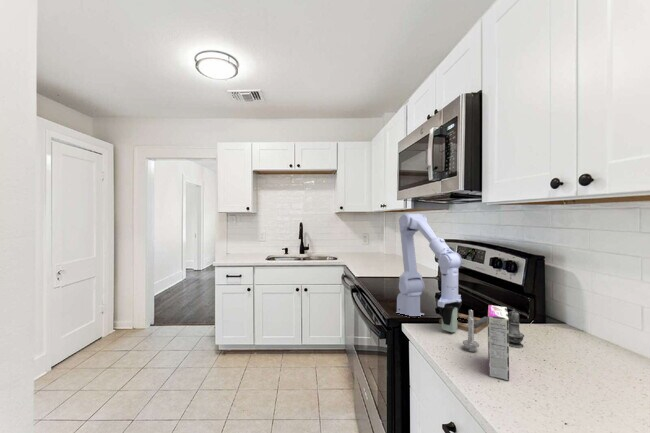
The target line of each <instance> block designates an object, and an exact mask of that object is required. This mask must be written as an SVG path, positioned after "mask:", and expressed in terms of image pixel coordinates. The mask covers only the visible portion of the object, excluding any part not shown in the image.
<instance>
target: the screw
mask: <svg viewBox="0 0 650 433" xmlns="http://www.w3.org/2000/svg"><path fill="white" fill-rule="evenodd" d="M468 315H469V318H468V321H467V325H468V331H467V339H464V340H462V344H463V345H464V346H465V349H466V351H468V352H471V353H472V352H476V349H477V348H479V347H480V343H478V341H476V340H475V333H474V320H473V319H474V318H473V317H474V310H472V309H468Z"/></svg>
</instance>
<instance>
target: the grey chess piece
mask: <svg viewBox="0 0 650 433" xmlns="http://www.w3.org/2000/svg"><path fill="white" fill-rule="evenodd" d="M508 319H509V348H510V347H511V348H515V349H522V348H524V345H523V343H522V342H523V340H524V338H525V334H524V333H522V332H521V331H520V325H521V322H520V314H519V313H518V312H517V311H516V309H515V308H513V309H512V310H511V311H509V312H508Z"/></svg>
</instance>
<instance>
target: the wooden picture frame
mask: <svg viewBox="0 0 650 433" xmlns="http://www.w3.org/2000/svg"><path fill="white" fill-rule="evenodd" d="M458 317H460V318H464V319H467V320H468V318H469V314H464V313H460V312H458V314H457V318H458ZM473 318H474V319H473V320H474V323H475V322H476V321H478V320H480V319H481V318H482V317H481V318H480V317H476V316H473ZM438 324H440V325H442V318H440V319H438ZM485 328H488V321H487V322H486V323H484V324H483V325H481V326H479V327H478V328H476V329H475V328H474V335H475V334H476V335H477V334H478V333H480V332H481V331H482V330H484V329H485ZM457 330H462V331H464V332H468V323H463V322H460V321H457Z"/></svg>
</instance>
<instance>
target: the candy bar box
mask: <svg viewBox="0 0 650 433" xmlns="http://www.w3.org/2000/svg"><path fill="white" fill-rule="evenodd" d="M487 308H488V309H487V317H488V326H487V360H488V361H487V363H488V376H489V377H491V378H493V377H494V378H493V379H498V378H499V380H504V381H507V380H508V381H510V346H509V312H508V308H507V306H499V305H495V304H494V305H493V304H488V307H487Z"/></svg>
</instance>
